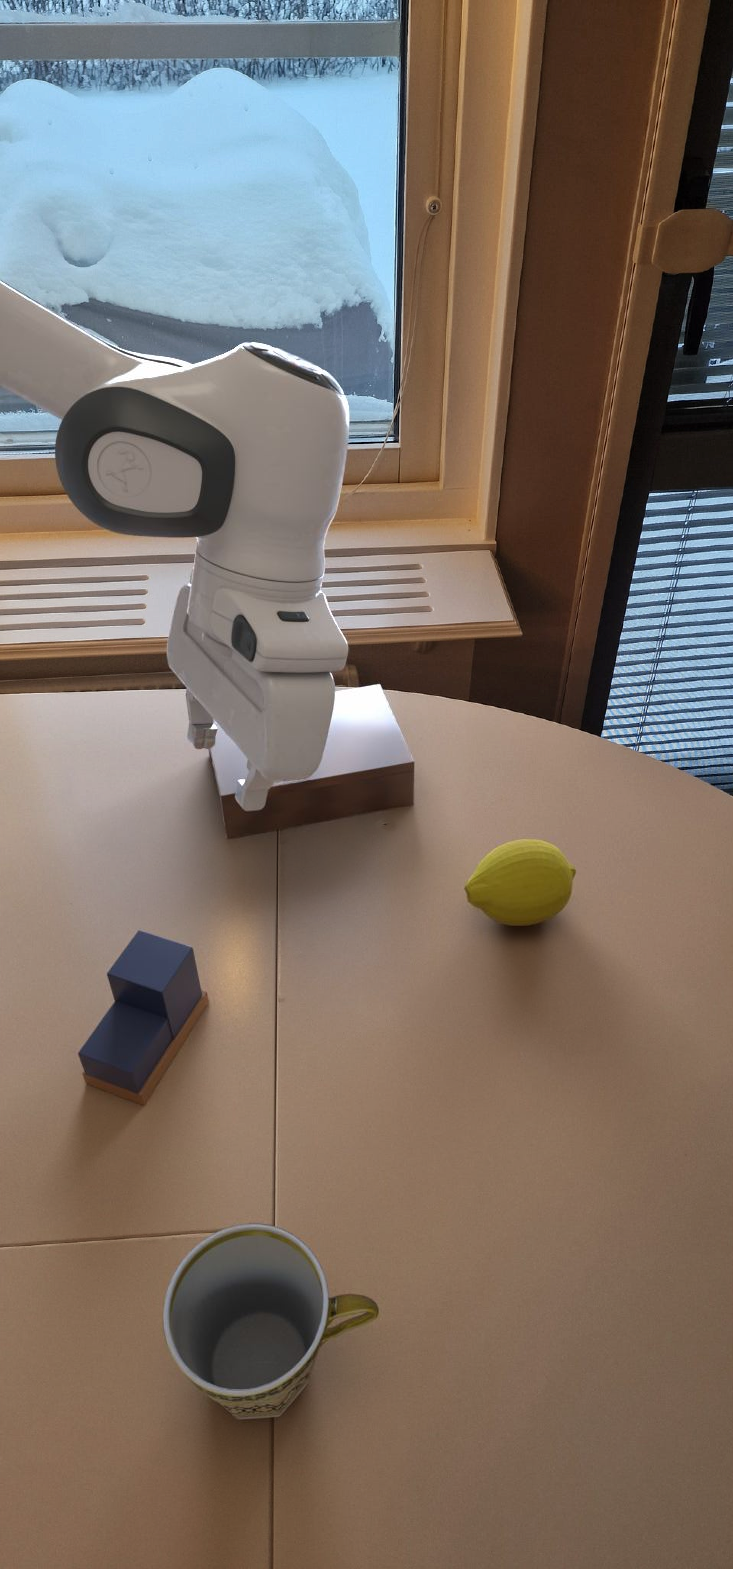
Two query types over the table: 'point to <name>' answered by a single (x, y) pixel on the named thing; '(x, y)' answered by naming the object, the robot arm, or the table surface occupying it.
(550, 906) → the lemon
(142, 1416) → the table surface
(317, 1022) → the table surface
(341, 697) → the shoe shelf
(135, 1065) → the trainer
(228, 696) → the robot arm
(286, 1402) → the ceramic cup
